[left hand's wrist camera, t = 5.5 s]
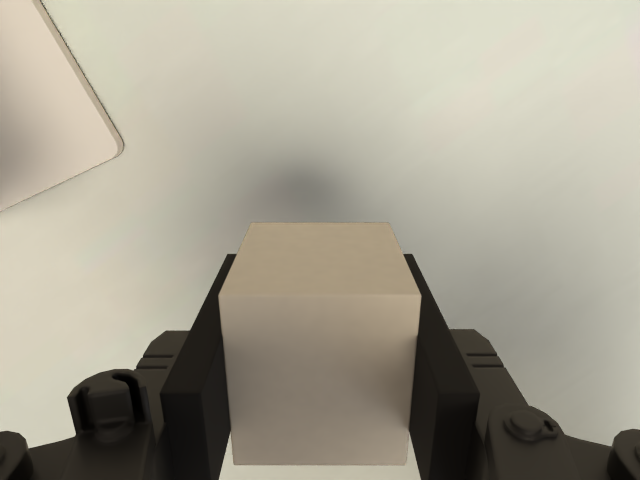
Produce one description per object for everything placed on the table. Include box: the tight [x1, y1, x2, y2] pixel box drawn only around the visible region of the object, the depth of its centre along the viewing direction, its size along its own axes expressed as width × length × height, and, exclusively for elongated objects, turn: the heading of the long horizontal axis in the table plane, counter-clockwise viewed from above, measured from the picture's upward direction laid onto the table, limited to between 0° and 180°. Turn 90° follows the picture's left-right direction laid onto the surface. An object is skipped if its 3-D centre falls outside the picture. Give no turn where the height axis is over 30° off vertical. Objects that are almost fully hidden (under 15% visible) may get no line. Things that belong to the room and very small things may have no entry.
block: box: [218, 223, 421, 465], centre depth 13 cm, size 4×5×5 cm
